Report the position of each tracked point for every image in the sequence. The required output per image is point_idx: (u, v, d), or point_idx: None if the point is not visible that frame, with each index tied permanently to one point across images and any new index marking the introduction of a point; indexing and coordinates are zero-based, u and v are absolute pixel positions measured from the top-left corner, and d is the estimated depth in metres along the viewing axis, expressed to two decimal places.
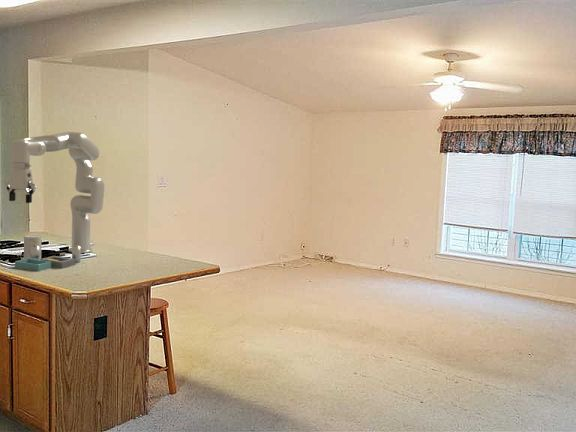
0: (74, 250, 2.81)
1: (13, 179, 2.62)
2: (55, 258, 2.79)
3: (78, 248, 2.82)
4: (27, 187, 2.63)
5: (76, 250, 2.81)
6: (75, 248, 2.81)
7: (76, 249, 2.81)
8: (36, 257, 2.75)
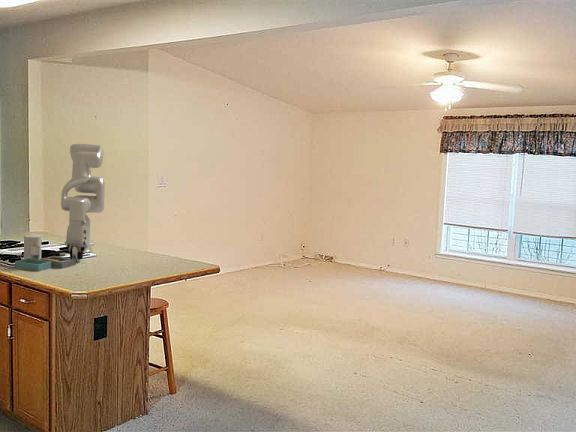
0: (74, 250, 2.81)
1: (70, 236, 2.80)
2: (55, 258, 2.79)
3: None
4: None
5: (76, 250, 2.81)
6: (75, 248, 2.81)
7: (76, 249, 2.81)
8: (36, 257, 2.75)
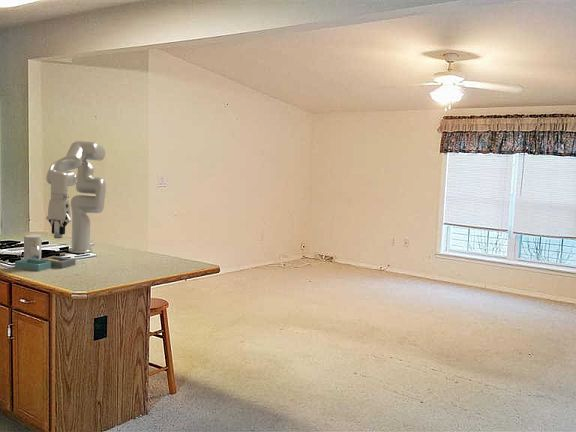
0: (56, 225, 2.71)
1: (51, 210, 2.70)
2: (55, 258, 2.79)
3: None
4: None
5: (58, 225, 2.71)
6: (57, 223, 2.70)
7: (58, 224, 2.71)
8: (36, 257, 2.75)
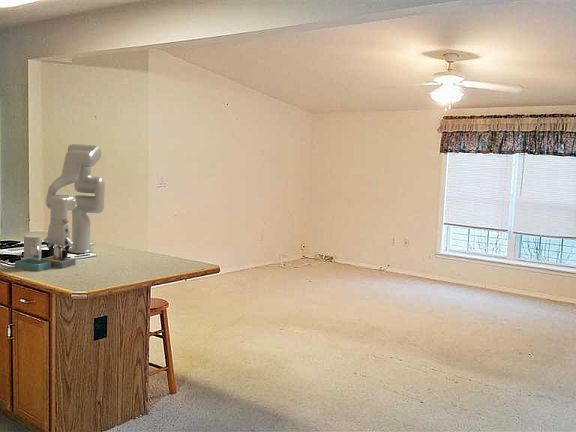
0: (55, 251, 2.72)
1: (51, 234, 2.72)
2: None
3: (60, 249, 2.73)
4: None
5: (58, 251, 2.72)
6: (56, 249, 2.72)
7: (58, 250, 2.72)
8: (36, 257, 2.75)
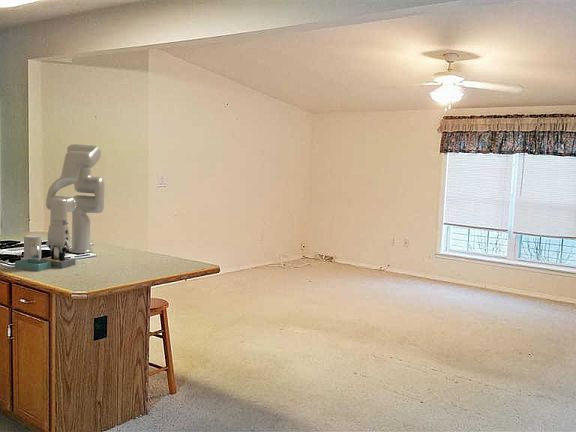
0: (55, 251, 2.72)
1: (51, 236, 2.72)
2: None
3: None
4: None
5: (58, 251, 2.72)
6: (57, 249, 2.72)
7: (58, 250, 2.72)
8: (36, 257, 2.75)
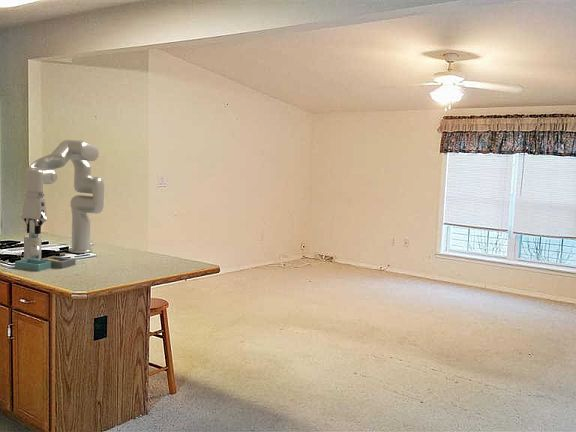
0: (31, 224, 2.62)
1: (26, 208, 2.61)
2: (55, 258, 2.79)
3: (35, 222, 2.62)
4: None
5: (33, 224, 2.62)
6: (32, 222, 2.61)
7: (33, 223, 2.62)
8: (36, 257, 2.75)
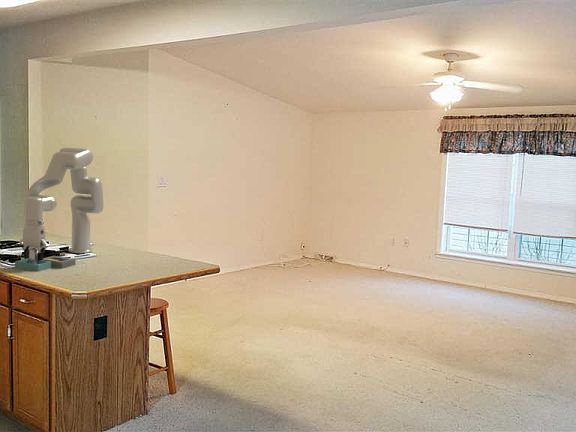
0: (31, 254, 2.63)
1: (26, 236, 2.63)
2: (55, 258, 2.79)
3: (35, 251, 2.64)
4: (39, 244, 2.64)
5: (33, 254, 2.63)
6: (32, 251, 2.63)
7: (33, 252, 2.63)
8: None
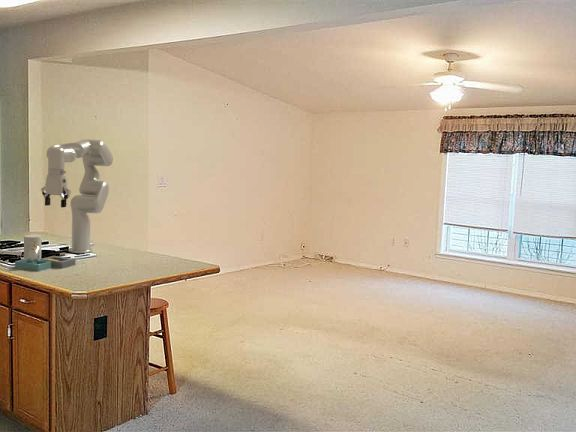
0: (31, 253, 2.63)
1: (49, 185, 2.76)
2: (55, 258, 2.79)
3: (35, 251, 2.64)
4: (62, 192, 2.78)
5: (33, 253, 2.63)
6: (32, 251, 2.63)
7: (33, 252, 2.63)
8: None
